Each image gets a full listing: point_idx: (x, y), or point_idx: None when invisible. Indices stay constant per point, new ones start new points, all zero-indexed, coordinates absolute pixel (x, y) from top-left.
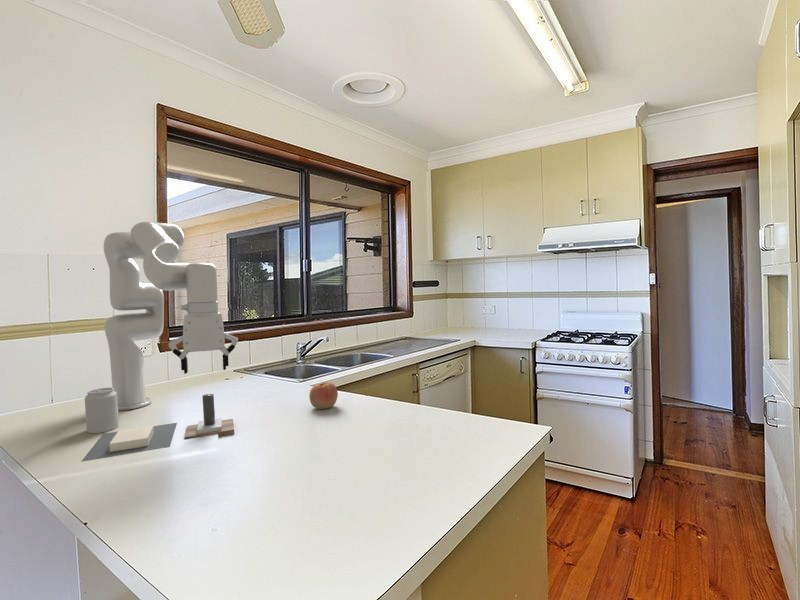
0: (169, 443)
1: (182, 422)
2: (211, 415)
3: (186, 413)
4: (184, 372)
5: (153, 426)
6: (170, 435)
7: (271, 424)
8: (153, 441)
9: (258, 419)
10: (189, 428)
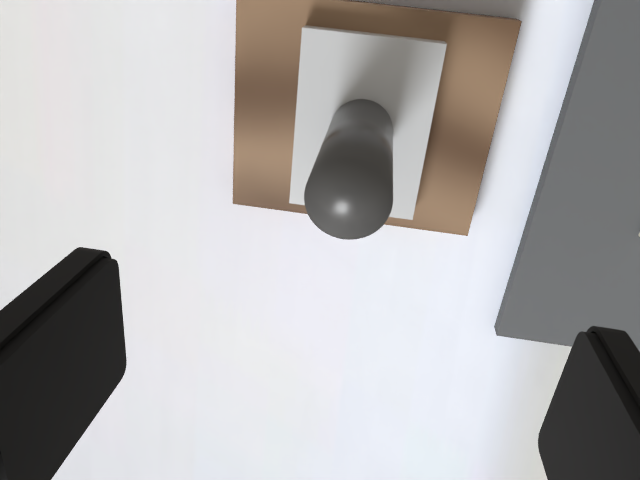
0: None
1: (464, 354)
2: (346, 116)
3: (426, 462)
4: (624, 333)
5: None
6: (572, 141)
7: (40, 32)
8: None
9: (112, 169)
10: (464, 178)
